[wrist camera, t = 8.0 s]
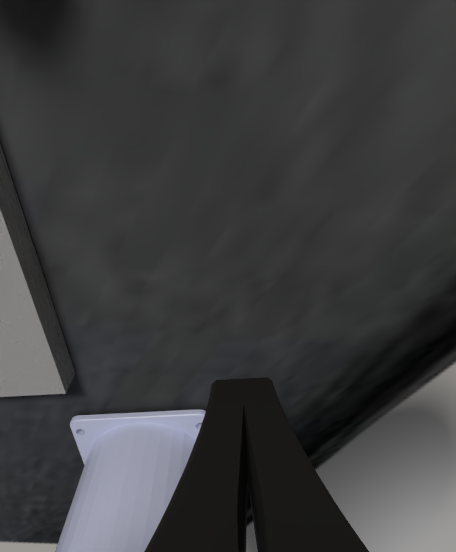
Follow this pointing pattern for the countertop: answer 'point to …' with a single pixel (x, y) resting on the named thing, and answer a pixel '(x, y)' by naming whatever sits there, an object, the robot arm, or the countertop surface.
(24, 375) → the dial plate
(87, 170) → the countertop surface
